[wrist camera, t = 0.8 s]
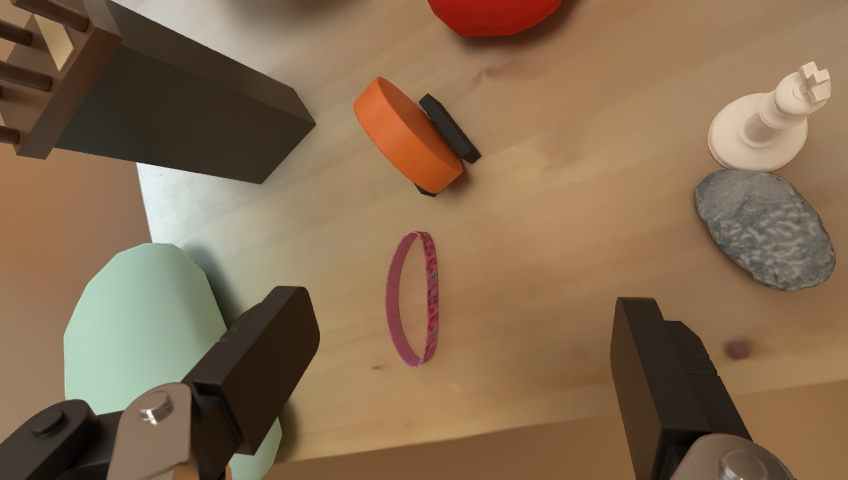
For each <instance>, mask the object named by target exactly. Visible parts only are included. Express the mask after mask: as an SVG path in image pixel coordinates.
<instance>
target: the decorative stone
mask: <svg viewBox="0 0 848 480" xmlns="http://www.w3.org/2000/svg"><path fill="white" fill-rule="evenodd" d="M226 331H227V328H226V326H225V323H224V320H223V318H222V315H221V313H220V310H219V308H218V305H217V303H216V300H215V298H214V295H213V292H212V290H211V287H210V285H209V282H208V280H207V277H206V275H205V272H204V271H203V270H202V269H201V268H200V267H199V266H198V265H197V264H196V263H195V261H194V260H193V259H192V258H191V257H190V256H189V255H188V254H187V253H186V252H185V251H183V250H181V249H180V248H178V247H176V246H175V245H173V244H161V243H148V244H147V243H146V244H141V245H139V246H136V247H133V248H131V249H128V250H125V251H123V252H120V253H117V254H116V256H114V257H113V258H112V259H111V260H110V262H109V263H108V264H107V265H106V266H105V267H104V268H103V269H102V270H101V271H100V272H99V273H98V274H97V275H96V276H95V277H94V278H93V279H92V280H91V281H90V282H89V283H88V284H87V286H86V288H85V290H84V292H83V294H82V296H81V298H80V300H79V302H78V304H77V306H76V308H75V310H74V313H73V315H72V318H71V320H70V322H69V324H68V327H67V329H66V332H65V334H64V373H65V398H66V400H72V399H81V400H84V401H86V402H87V403H88V404H89V406H90V407H91V409H92V410H93V412H94V413H95V415H100V414H105V413H111V412H116V411H122V410H125V409H126V408H127V407H128V406H129V405H130V404H131V403H132V402H133V401H134V400H135V399H136V398H137V397H139V396H140V395H142V394H143V393H145V392H146V391H148V390H150V389H152V388H154V387H157V386H159V385H162V384H166V383H171V382H180V381H181V380H182V379H183V378H184V377H185V376H186V375H187V374H188V373H189V372H190V370H191V369H192V368H193V367H194V366H195V365H196V364H197V363H198V362H199V361H200V359H201V358H202V357H203V356H204V355H205V354H206V353H207V352H208V351H209V350H210V349H211V347H212V346H213V345H214V344H215V343H216V342H219V340H220V338H221V336H222V335H223V334H224V333H225V332H226ZM281 437H282V430H281V427H280V423H279V419H278V417H277V419H276V420H275V422H274V424H273V425H272V427H271V429H270V430H269V432H268V434H267V435H266V437H265V439H264V440H263V442H262V444H261V445H260V447H259V449H258V450H257V452H256V454H255V455H254V456H250V455H243V454H234V455H233V457H232V458H231V460H230V461H229V463H228V464H229V466H230V468H231V472H232V480H261V479H262V478H263V477H264V475H265V474H266V473H267V472H268V470H269V469H270V468H271V466H272V465H273V462H274V459H275V456H276V453H277V450H278V447H279V443H280V440H281Z"/></svg>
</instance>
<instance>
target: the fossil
mask: <svg viewBox="0 0 848 480" xmlns="http://www.w3.org/2000/svg"><path fill="white" fill-rule="evenodd" d="M694 194H695V207H696V209H697V212H698V213H699V215H700V216H701V218H702V221H703V222H704V223H705V224H706V226H707V227H708V229H709V230H710V233H711V235H712V237H713V239H714V241H715V242H716V244H717V245H718V246H719V247H720V249H721V250H722V251H723V252H724V253H725V254H726V255H727V256H728V257H730V258H732V259H733V260H734V261H735V262H736V263H737V264H738V265H739V266H741V267H742V268H743V269H744V270H745V271H746V272H747V273H748V274H749V275H750V276H751V277H752V278H753V279H754V280H756V281H757V282H759V283H761V284H763V285H765V286H768V287H771V288H775V289H778V290H781V291H785V292H792V291H797V290H801V289H804V288H812V287H816V286H818V285H819V284H821V283H823V282H825V281H826V280H827V279H828V278H829V277H830V275H831V273H832V272H833V271H834V266H835V263H836V260H835V251H834V248H833V246H832V244H831V242H830V240H829V239H830V238H829V235H828V233H827V232H826V231H825V229H824V227H823V225H822V221H821V219H820V217H819V215H818V214H817V213H816V212H815V211H814V209H813V208H812V207H811V206H810V205H809V204H808V203H807V202H806V200H805V199H804V198H803V197H802V196H801V194H800V193H799V192H798V191H797V189H796V188H795V187H794V186H793V185H792V184H791V183H789V182H788V181H786V180H785V179H783V178H781V177H779V176H776V175H773V174H769V173H764V172H754V171H748V170H744V169H728V170H720V171H717V172H714V173H711V174H710V175H708V176H707V177H706V178H705V179H704V180H703V181H702V182H701V183H700V185H698V186H697V187H696V188H695V192H694Z"/></svg>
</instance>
